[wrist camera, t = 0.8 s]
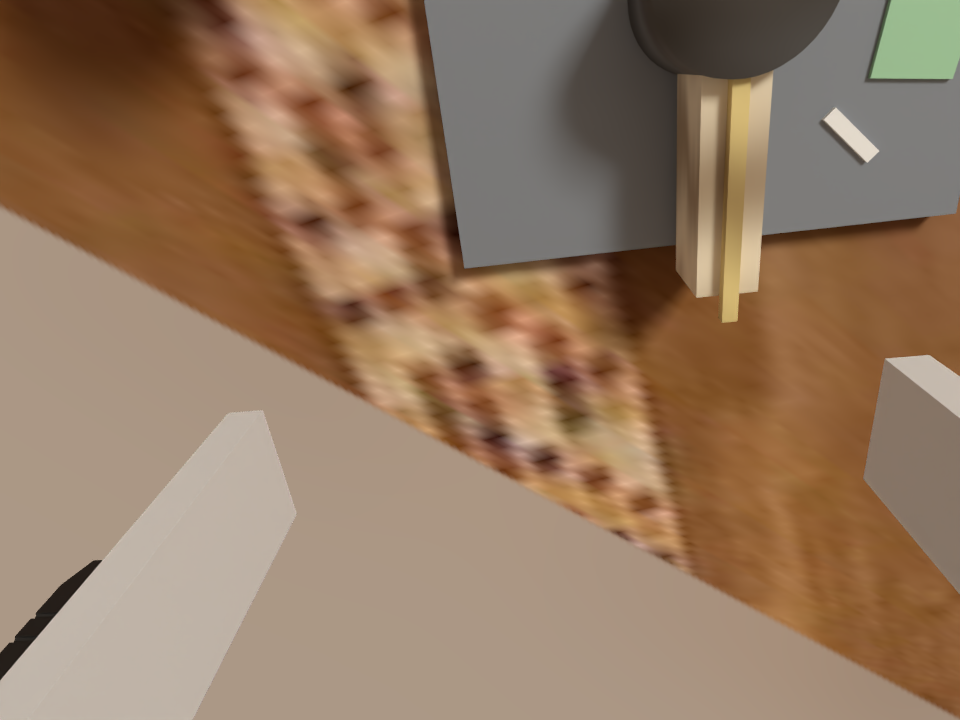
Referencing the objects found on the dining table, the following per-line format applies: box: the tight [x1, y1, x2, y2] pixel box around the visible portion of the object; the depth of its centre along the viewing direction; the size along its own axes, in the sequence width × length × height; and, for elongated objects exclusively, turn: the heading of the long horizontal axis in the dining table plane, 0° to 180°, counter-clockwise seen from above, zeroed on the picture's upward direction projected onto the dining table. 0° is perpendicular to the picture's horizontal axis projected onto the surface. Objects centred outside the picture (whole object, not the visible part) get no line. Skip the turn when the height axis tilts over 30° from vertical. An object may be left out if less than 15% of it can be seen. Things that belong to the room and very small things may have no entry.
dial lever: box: [628, 0, 840, 323], centre depth 23 cm, size 15×6×5 cm, turn 8°
